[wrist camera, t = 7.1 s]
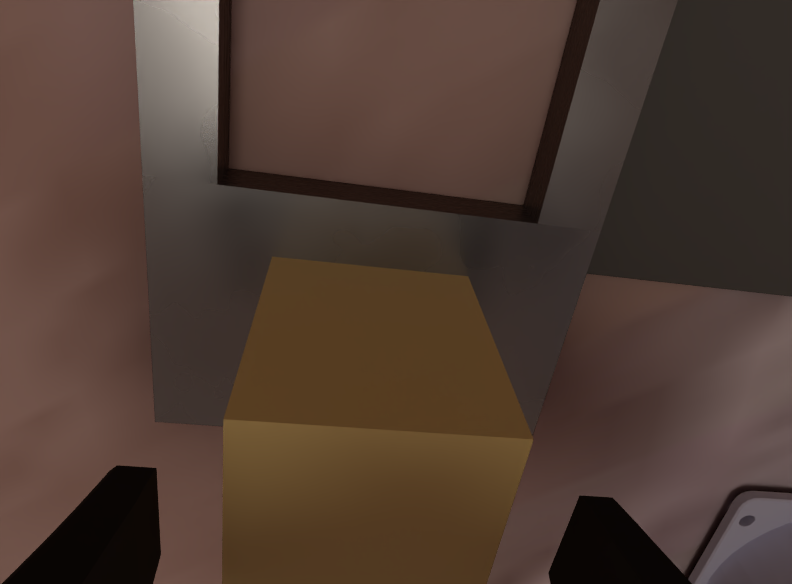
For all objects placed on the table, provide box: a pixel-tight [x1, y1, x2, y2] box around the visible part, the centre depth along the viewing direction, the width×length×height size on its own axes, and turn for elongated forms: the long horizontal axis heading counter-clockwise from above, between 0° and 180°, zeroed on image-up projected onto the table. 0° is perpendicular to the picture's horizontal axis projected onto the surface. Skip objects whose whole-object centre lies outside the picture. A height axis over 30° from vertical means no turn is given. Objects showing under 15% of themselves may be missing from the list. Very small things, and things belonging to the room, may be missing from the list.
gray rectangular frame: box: [133, 0, 678, 436], centre depth 12 cm, size 15×10×3 cm, turn 172°
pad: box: [587, 0, 792, 296], centre depth 13 cm, size 8×7×1 cm
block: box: [222, 257, 534, 584], centre depth 12 cm, size 4×4×6 cm
